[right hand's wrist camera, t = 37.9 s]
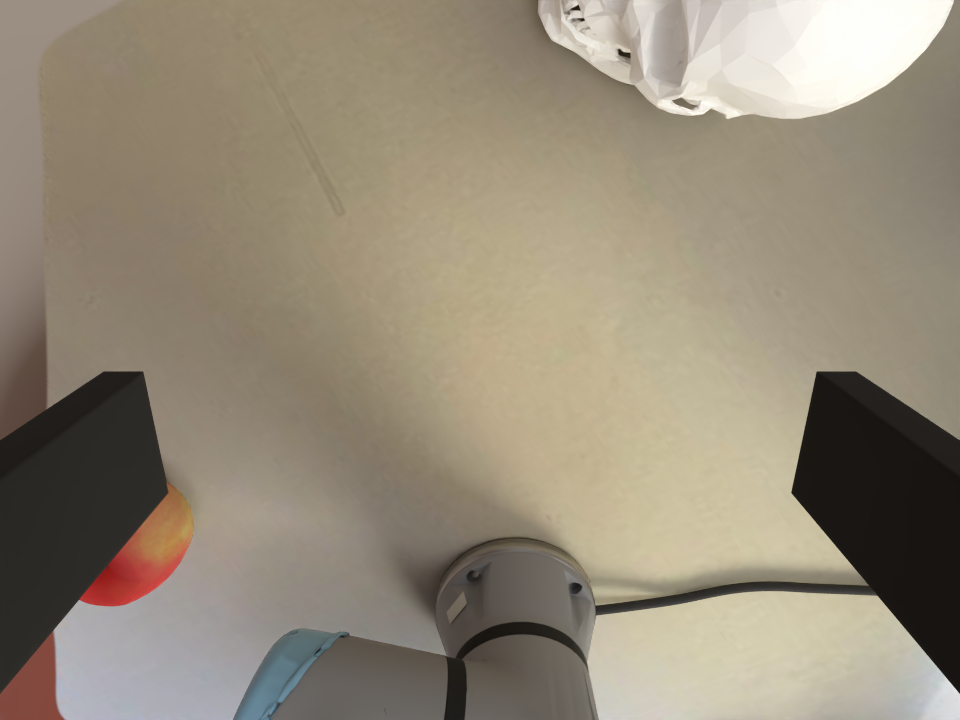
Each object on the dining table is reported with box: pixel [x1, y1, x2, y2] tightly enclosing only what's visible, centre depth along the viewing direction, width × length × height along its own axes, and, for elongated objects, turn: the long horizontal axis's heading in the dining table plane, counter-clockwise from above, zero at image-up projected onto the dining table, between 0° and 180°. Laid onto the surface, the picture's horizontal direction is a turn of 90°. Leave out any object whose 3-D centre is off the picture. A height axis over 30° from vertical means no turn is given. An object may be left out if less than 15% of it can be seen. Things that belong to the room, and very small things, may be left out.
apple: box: [79, 482, 194, 606], centre depth 52 cm, size 10×10×10 cm
